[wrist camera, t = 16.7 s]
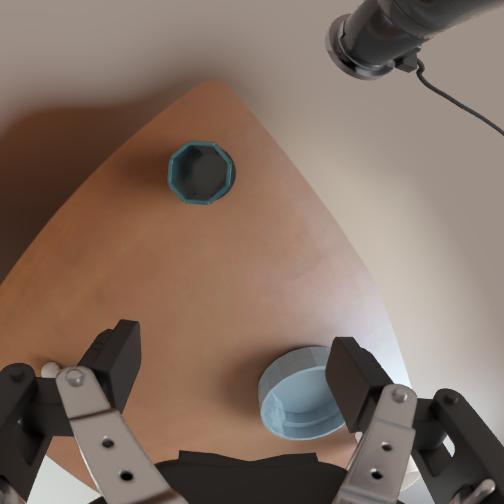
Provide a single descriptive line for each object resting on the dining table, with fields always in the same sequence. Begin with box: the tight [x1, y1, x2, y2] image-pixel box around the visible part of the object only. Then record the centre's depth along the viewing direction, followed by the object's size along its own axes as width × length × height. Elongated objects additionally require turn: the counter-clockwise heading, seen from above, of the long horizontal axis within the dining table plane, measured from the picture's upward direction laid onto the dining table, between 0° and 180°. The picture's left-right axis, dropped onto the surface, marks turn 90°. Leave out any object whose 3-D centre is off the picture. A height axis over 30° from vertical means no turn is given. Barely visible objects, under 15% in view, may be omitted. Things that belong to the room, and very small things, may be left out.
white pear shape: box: [41, 362, 62, 378], centre depth 42 cm, size 8×10×10 cm
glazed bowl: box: [257, 347, 346, 440], centre depth 44 cm, size 16×16×6 cm
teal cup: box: [167, 141, 232, 205], centre depth 33 cm, size 6×6×9 cm
